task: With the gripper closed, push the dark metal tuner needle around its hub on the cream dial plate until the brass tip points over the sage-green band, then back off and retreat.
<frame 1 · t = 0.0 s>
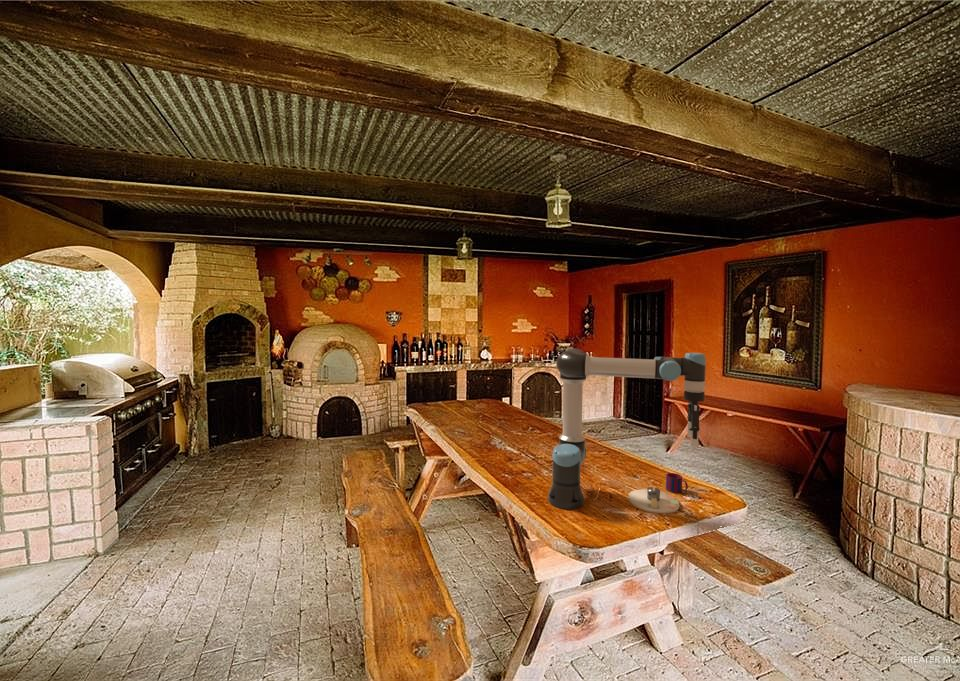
hand: (692, 441, 173), 28 cm above the table, fingers open, 13 cm apart
needle: (653, 497, 176), point 4 cm above the table, hinge at 0.0°
mug: (676, 492, 190), on the table
dial plate: (653, 502, 179), on the table
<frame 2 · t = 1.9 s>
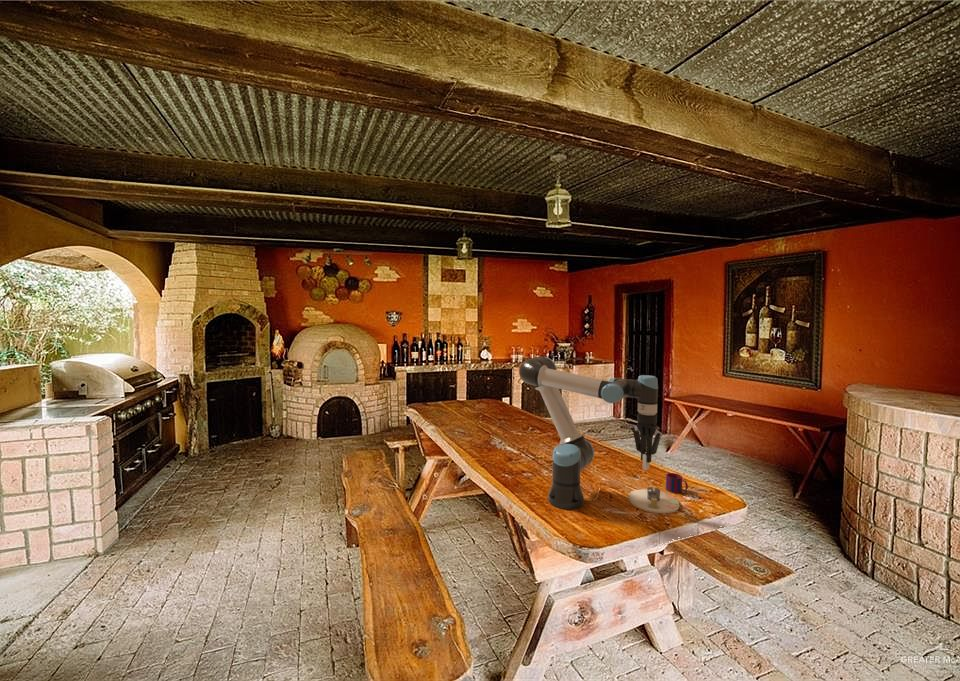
hand: (645, 469, 174), 16 cm above the table, fingers closed
nothing on the table moved.
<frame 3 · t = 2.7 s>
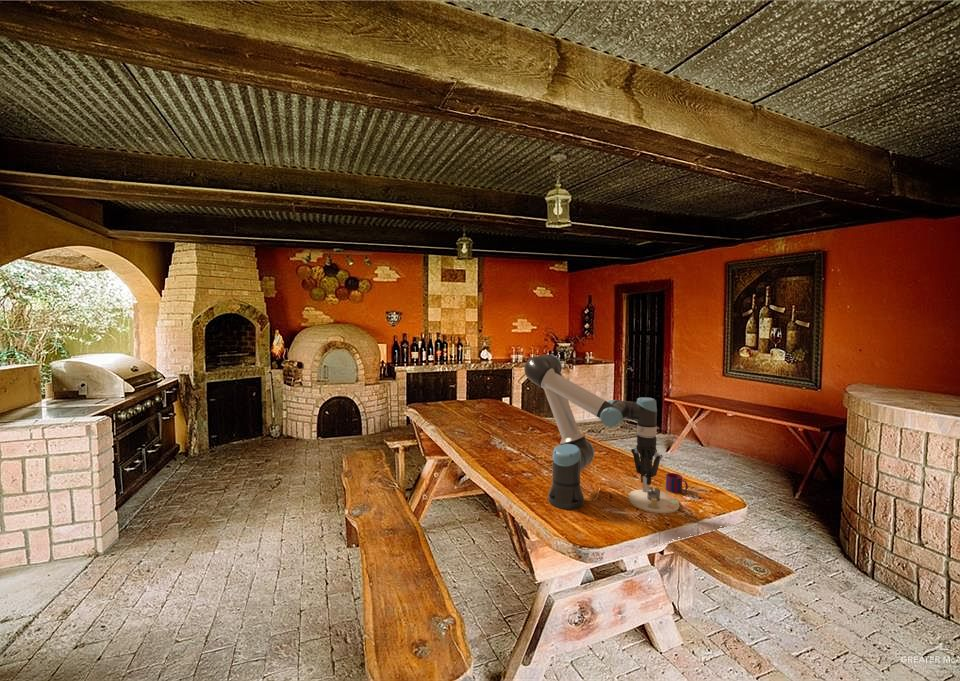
hand: (646, 491, 174), 7 cm above the table, fingers closed
nothing on the table moved.
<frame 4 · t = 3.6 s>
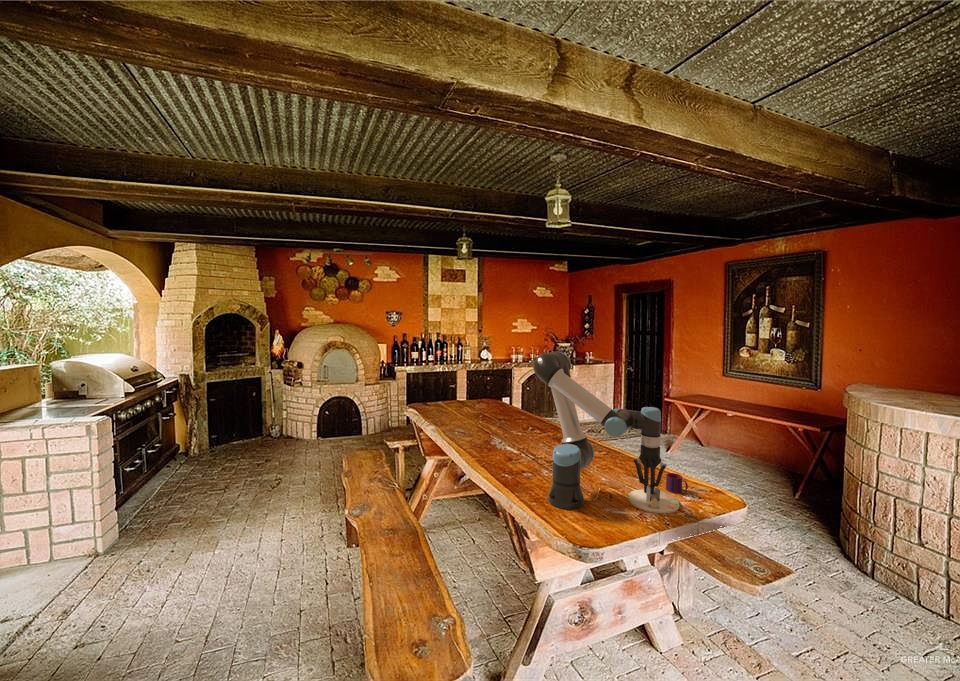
hand: (648, 501, 174), 3 cm above the table, fingers closed
needle: (653, 497, 176), point 4 cm above the table, hinge at 0.0°, touching gripper
everything else where it was.
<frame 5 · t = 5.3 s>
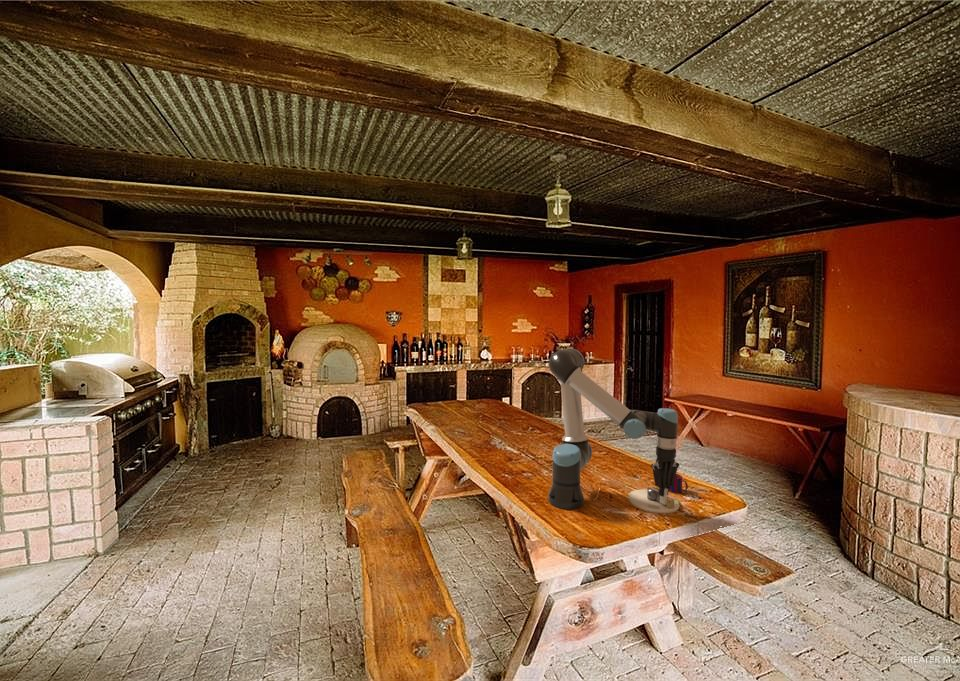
hand: (663, 503, 172), 3 cm above the table, fingers closed
needle: (660, 497, 176), point 4 cm above the table, hinge at 44.2°, touching gripper
everything else where it was.
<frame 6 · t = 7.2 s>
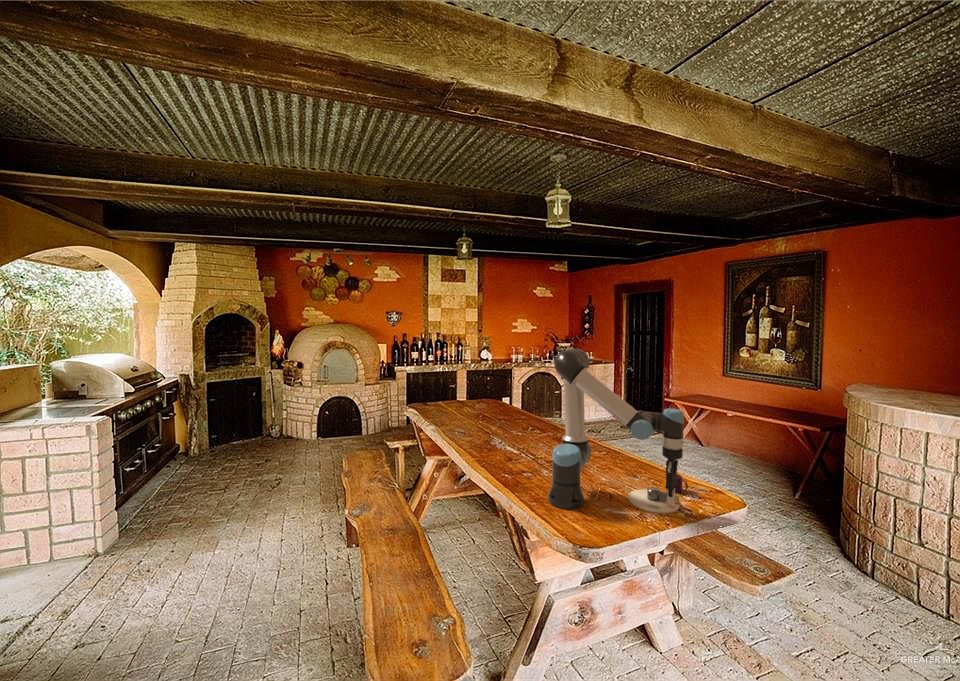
hand: (670, 503, 172), 3 cm above the table, fingers closed
needle: (663, 495, 177), point 4 cm above the table, hinge at 84.2°
everything else where it was.
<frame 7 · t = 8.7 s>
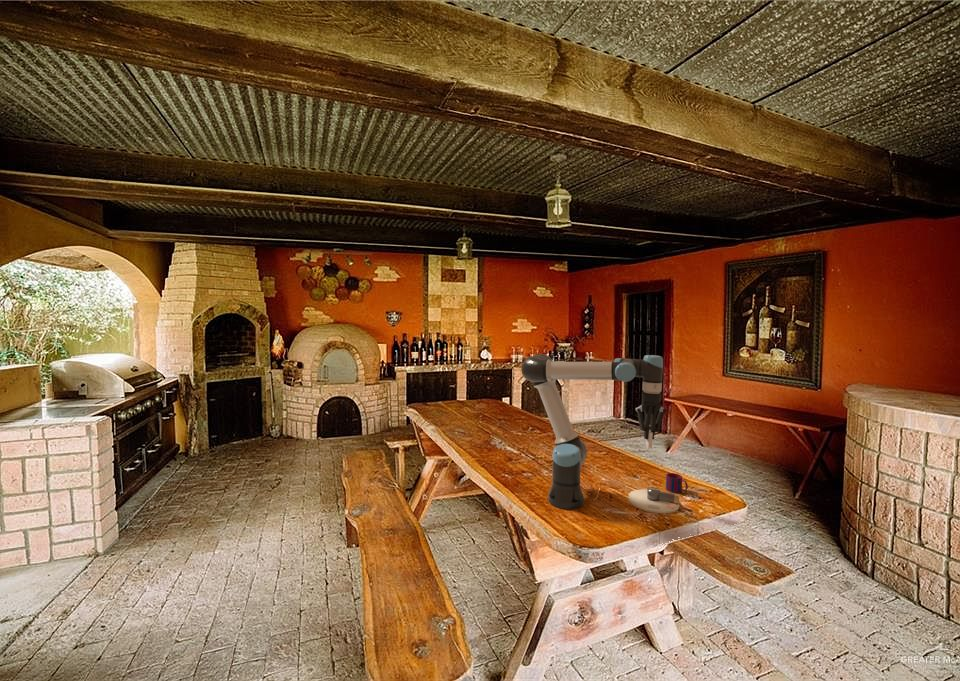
hand: (648, 446, 178), 24 cm above the table, fingers closed
nothing on the table moved.
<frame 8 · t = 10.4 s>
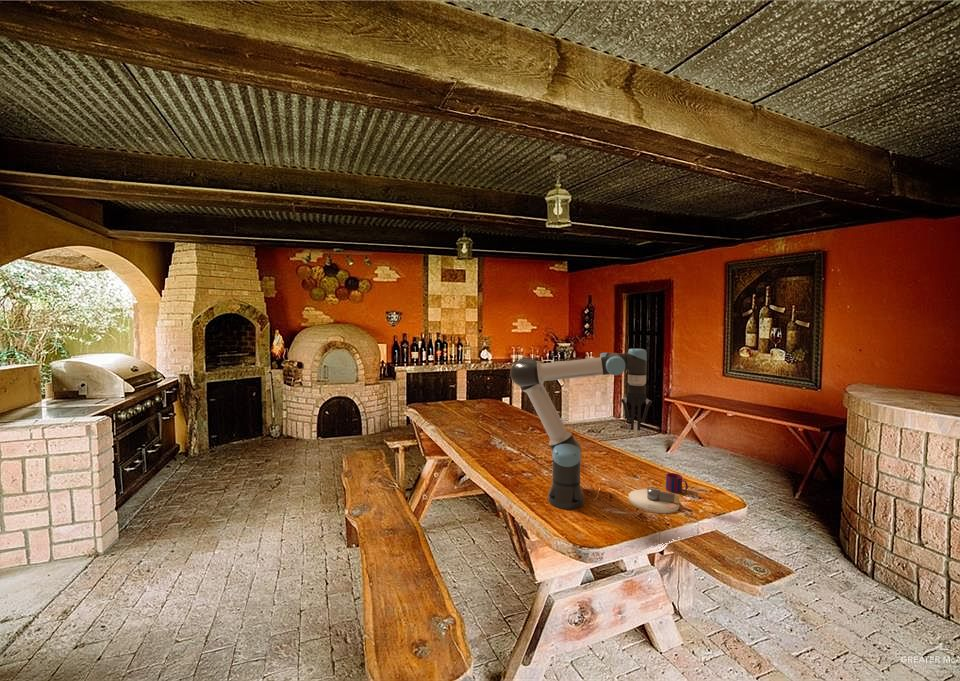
hand: (635, 437, 184), 26 cm above the table, fingers closed
nothing on the table moved.
at the end: needle at +84° (first picture: +0°); needle touching nothing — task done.
